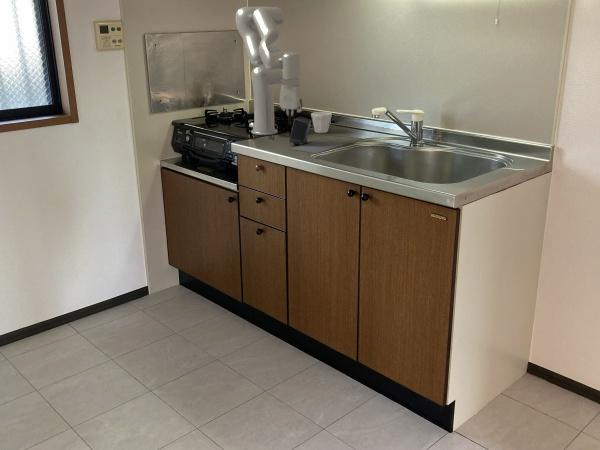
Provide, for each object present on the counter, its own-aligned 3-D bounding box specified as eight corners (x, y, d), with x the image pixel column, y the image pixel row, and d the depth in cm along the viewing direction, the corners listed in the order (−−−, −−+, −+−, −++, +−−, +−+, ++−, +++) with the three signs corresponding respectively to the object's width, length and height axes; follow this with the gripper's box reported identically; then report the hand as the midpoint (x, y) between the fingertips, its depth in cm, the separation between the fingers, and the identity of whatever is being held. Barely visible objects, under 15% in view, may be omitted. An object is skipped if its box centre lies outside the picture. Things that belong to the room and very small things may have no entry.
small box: (302, 145, 274) (307, 122, 270) (288, 142, 275) (293, 118, 271) (307, 141, 284) (312, 119, 280) (293, 138, 285) (298, 115, 281)
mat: (289, 149, 269) (289, 148, 269) (319, 140, 285) (319, 140, 285) (316, 153, 261) (316, 153, 261) (345, 144, 278) (345, 144, 277)
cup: (331, 134, 300) (332, 115, 297) (311, 134, 300) (311, 115, 297) (331, 130, 309) (331, 111, 306) (310, 130, 309) (311, 111, 306)
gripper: (272, 82, 274) (273, 124, 280) (299, 84, 265) (300, 127, 271) (283, 80, 280) (284, 121, 286) (310, 82, 271) (310, 125, 277)
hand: (291, 124), depth 278 cm, fingers closed
